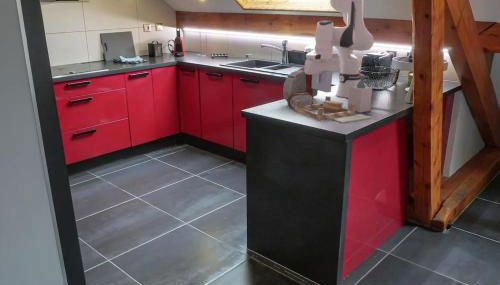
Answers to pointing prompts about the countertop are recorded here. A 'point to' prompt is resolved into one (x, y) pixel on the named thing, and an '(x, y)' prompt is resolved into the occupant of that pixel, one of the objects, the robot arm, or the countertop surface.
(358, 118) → the mat
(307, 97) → the tin
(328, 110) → the offcut lower
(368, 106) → the soap bottle
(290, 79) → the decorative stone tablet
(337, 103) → the offcut upper
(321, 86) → the lavender grey box
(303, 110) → the rack
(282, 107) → the countertop surface
